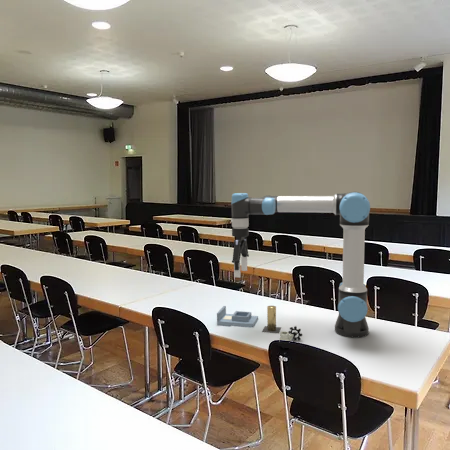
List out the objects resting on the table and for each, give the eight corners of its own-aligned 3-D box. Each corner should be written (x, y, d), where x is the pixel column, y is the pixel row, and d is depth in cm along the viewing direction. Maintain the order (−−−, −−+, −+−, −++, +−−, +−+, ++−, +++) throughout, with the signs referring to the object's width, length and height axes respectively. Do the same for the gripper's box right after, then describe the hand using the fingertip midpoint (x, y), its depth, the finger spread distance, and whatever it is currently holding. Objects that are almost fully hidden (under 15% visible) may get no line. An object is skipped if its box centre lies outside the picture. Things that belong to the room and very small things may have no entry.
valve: (289, 351, 180) (302, 342, 189) (289, 335, 179) (302, 327, 188) (275, 347, 184) (289, 338, 193) (275, 332, 183) (289, 324, 192)
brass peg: (276, 328, 205) (276, 305, 203) (275, 331, 201) (275, 308, 200) (268, 327, 206) (268, 305, 204) (266, 330, 202) (266, 307, 201)
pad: (281, 328, 206) (281, 327, 206) (278, 334, 198) (278, 333, 198) (264, 326, 208) (264, 326, 208) (261, 332, 201) (261, 331, 200)
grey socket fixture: (258, 320, 218) (258, 308, 217) (253, 328, 207) (253, 316, 206) (223, 317, 223) (223, 306, 222) (217, 325, 211) (216, 313, 211)
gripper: (238, 224, 208) (239, 267, 211) (224, 230, 184) (225, 279, 187) (254, 224, 206) (254, 268, 208) (241, 231, 182) (242, 280, 185)
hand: (240, 273), depth 198 cm, fingers open, 13 cm apart
